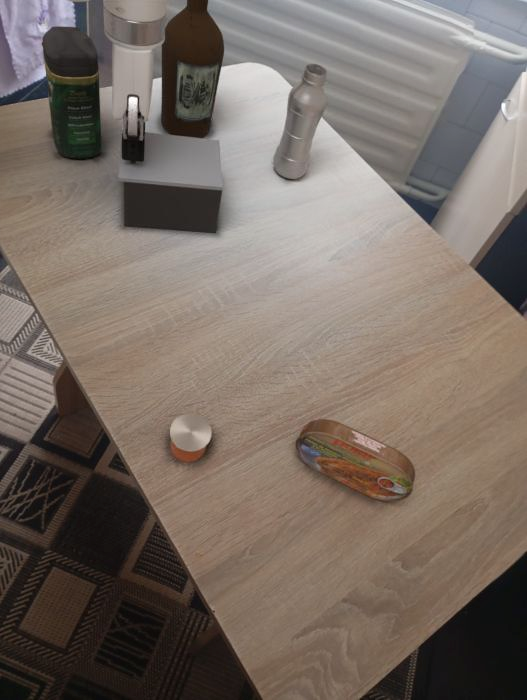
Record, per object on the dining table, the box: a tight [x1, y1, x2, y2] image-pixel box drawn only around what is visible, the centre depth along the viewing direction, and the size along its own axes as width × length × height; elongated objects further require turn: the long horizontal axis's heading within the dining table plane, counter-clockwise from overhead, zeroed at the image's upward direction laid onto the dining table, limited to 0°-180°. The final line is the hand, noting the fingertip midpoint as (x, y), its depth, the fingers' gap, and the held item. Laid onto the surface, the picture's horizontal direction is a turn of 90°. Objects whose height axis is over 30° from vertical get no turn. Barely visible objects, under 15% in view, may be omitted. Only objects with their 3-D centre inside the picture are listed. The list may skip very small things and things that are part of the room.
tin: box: [294, 418, 416, 502], centre depth 69 cm, size 15×3×8 cm, turn 66°
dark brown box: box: [123, 182, 223, 234], centre depth 91 cm, size 15×12×9 cm
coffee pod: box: [169, 412, 213, 463], centre depth 69 cm, size 5×5×4 cm
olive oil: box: [160, 0, 225, 138], centre depth 99 cm, size 11×11×25 cm
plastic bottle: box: [273, 63, 328, 180], centre depth 98 cm, size 6×7×20 cm
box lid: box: [117, 121, 224, 191], centre depth 85 cm, size 15×12×6 cm
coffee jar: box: [41, 25, 102, 160], centre depth 92 cm, size 10×8×19 cm
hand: (133, 145), depth 85 cm, fingers open, 5 cm apart
